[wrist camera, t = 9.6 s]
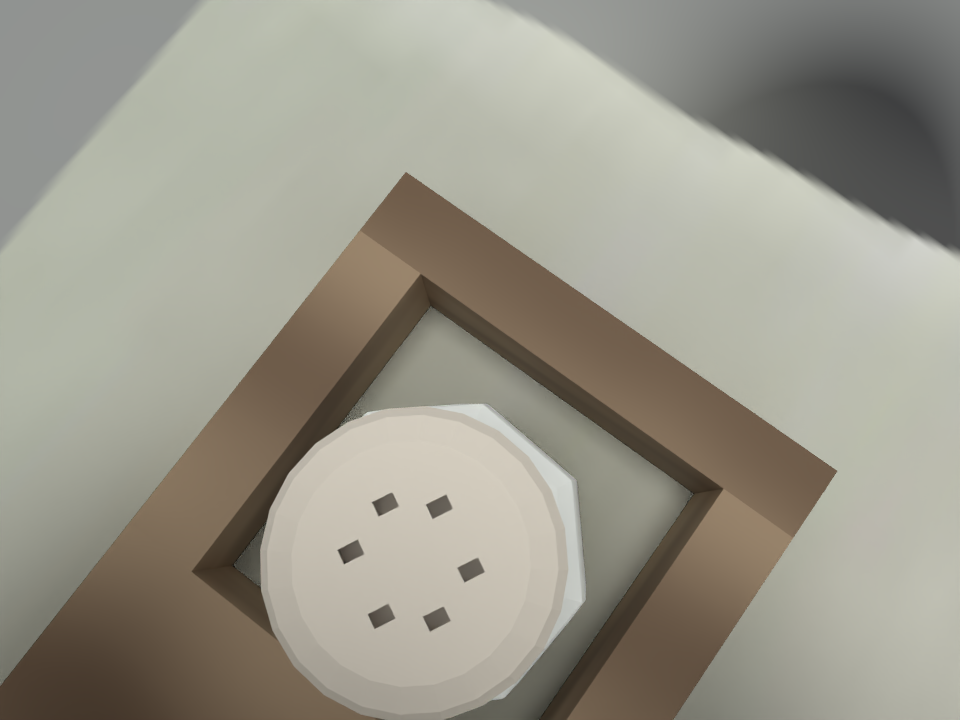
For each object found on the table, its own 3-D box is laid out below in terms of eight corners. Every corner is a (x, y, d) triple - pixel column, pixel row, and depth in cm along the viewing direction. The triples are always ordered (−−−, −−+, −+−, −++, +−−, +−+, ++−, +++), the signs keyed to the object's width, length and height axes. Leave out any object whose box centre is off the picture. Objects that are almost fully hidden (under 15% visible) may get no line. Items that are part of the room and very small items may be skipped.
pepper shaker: (636, 597, 18) (838, 708, 7) (401, 719, 18) (253, 1022, 7) (518, 368, 19) (545, 169, 8) (293, 480, 19) (15, 423, 8)
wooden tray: (328, 1172, 16) (299, 1286, 14) (-60, 827, 18) (-150, 875, 15) (792, 478, 19) (837, 471, 16) (417, 215, 20) (406, 171, 17)
